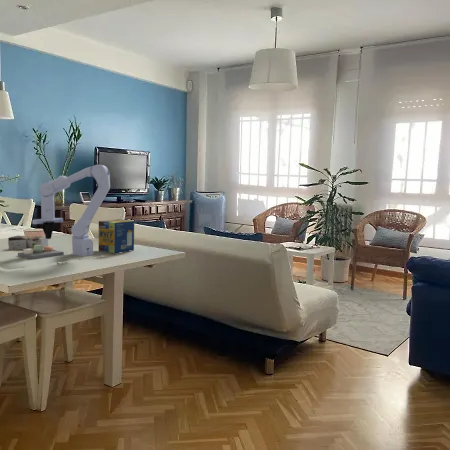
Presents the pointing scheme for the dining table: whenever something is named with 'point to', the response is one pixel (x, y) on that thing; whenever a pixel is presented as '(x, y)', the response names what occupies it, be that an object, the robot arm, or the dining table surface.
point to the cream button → (27, 251)
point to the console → (41, 254)
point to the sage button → (38, 248)
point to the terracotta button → (48, 248)
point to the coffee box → (26, 242)
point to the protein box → (116, 236)
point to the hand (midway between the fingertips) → (48, 238)
